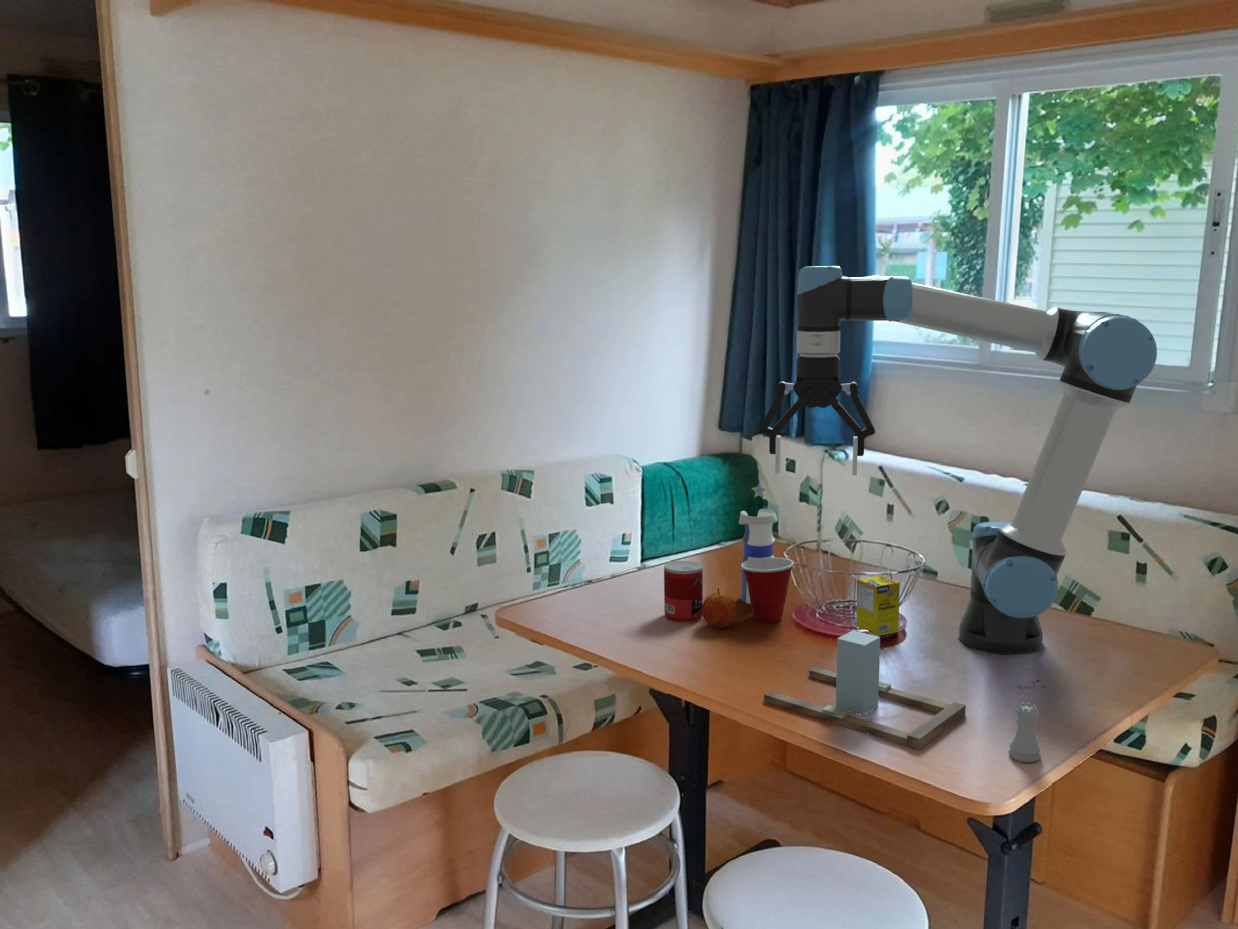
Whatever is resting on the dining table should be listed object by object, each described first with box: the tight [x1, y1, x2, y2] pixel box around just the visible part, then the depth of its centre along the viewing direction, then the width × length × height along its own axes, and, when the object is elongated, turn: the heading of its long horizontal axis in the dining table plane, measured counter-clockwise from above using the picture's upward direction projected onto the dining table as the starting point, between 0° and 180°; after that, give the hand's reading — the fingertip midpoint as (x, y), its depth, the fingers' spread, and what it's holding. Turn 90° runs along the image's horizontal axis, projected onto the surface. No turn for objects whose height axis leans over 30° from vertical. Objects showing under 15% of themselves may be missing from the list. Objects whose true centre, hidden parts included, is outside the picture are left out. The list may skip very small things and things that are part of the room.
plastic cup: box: [740, 556, 795, 623], centre depth 219 cm, size 11×11×12 cm
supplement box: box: [855, 574, 901, 637], centre depth 208 cm, size 6×6×11 cm
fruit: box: [702, 588, 738, 629], centre depth 214 cm, size 7×7×8 cm
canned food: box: [663, 560, 704, 623], centre depth 220 cm, size 8×8×11 cm
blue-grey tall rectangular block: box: [835, 629, 881, 716], centre depth 175 cm, size 5×5×12 cm
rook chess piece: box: [1008, 702, 1042, 764], centre depth 157 cm, size 4×4×8 cm
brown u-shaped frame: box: [763, 666, 967, 751], centre depth 175 cm, size 28×16×2 cm, turn 48°
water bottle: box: [738, 482, 779, 605], centre depth 230 cm, size 8×9×25 cm
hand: (815, 473), depth 192 cm, fingers open, 13 cm apart
